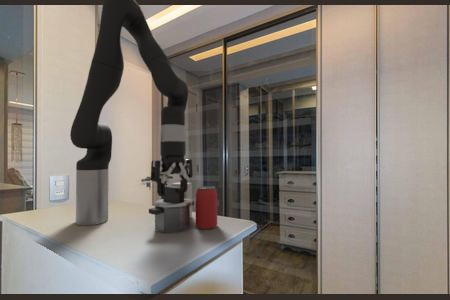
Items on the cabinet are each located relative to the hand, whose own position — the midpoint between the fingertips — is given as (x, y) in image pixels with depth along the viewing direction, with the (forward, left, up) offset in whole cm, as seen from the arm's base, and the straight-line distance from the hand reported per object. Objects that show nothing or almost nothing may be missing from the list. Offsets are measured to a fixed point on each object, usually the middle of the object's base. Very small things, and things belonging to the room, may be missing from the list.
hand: (173, 193), depth 69 cm
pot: (0, 0, -10) cm, 10 cm away
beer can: (+8, +7, -10) cm, 14 cm away
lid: (0, 0, -3) cm, 3 cm away
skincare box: (-6, +9, -10) cm, 15 cm away
